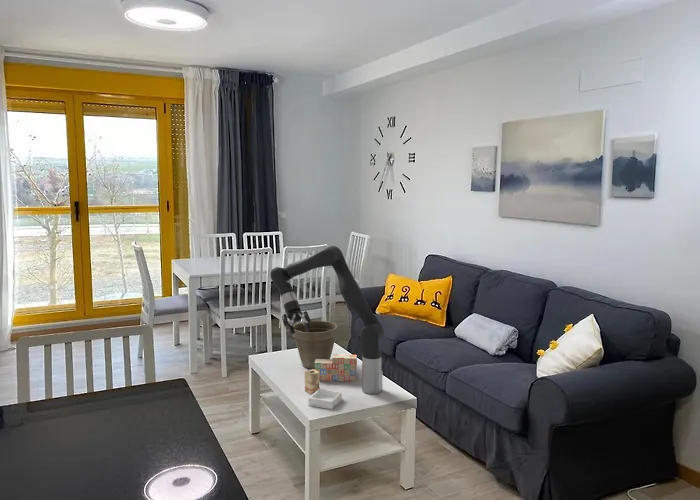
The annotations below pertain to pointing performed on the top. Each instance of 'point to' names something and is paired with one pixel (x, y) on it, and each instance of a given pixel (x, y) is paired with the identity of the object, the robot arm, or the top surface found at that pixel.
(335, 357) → the stack of blocks
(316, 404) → the white tray
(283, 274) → the robot arm
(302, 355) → the plant pot
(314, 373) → the oak block
